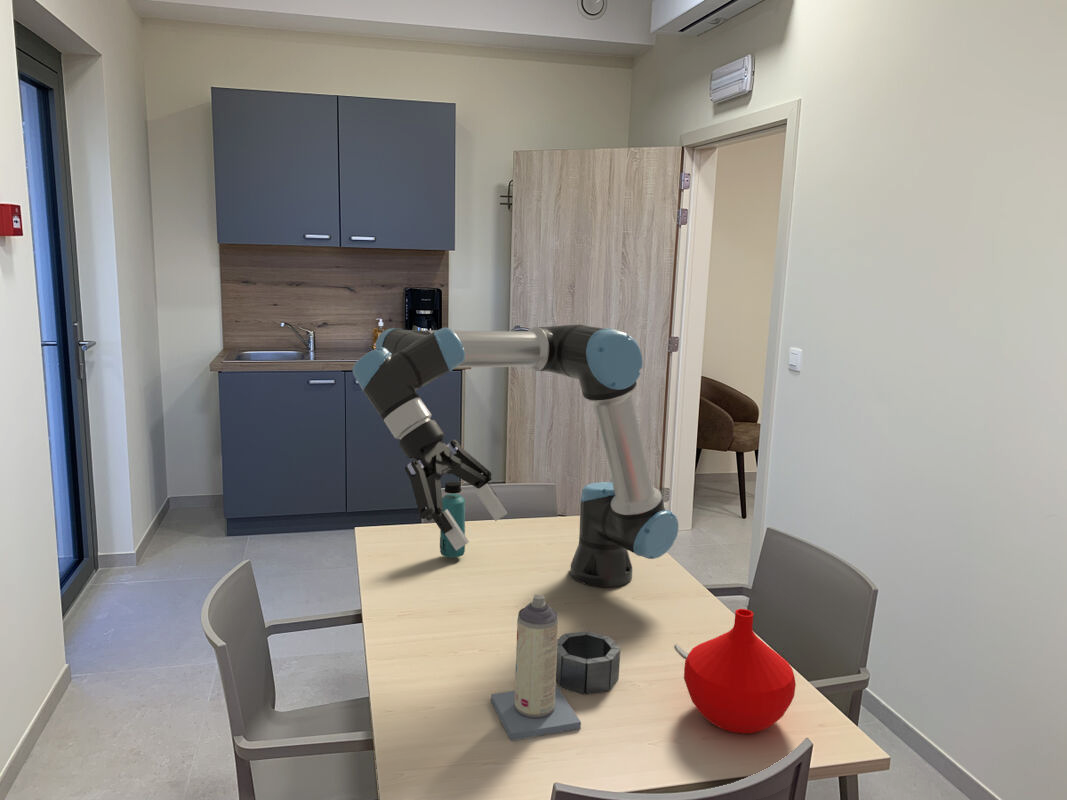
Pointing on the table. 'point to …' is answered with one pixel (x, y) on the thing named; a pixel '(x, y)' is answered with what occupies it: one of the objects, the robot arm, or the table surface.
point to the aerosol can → (536, 659)
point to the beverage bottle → (457, 511)
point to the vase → (739, 679)
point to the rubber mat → (528, 727)
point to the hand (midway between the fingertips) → (483, 531)
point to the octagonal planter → (587, 662)
